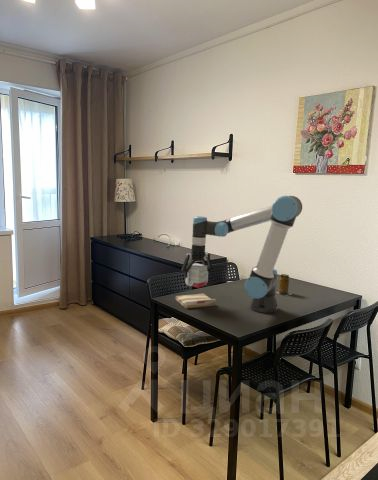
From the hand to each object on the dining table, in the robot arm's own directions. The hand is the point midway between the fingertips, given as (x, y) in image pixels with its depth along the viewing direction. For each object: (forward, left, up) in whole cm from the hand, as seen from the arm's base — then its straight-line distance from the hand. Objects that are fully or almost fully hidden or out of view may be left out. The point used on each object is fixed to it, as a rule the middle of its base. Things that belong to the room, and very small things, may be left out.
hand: (196, 282), depth 209 cm
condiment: (+2, -63, -12) cm, 64 cm away
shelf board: (+1, 0, -12) cm, 12 cm away
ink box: (0, 0, -2) cm, 2 cm away
